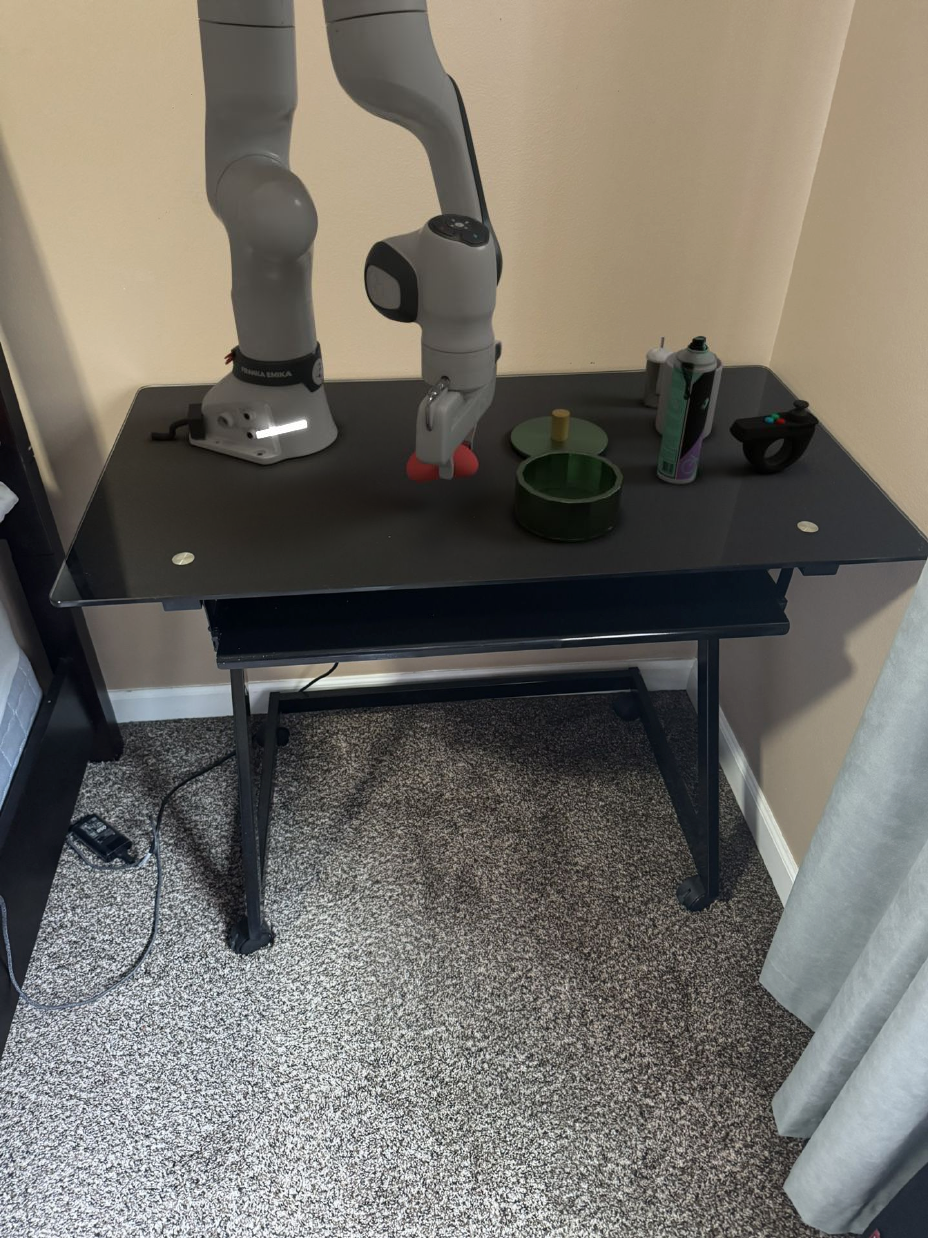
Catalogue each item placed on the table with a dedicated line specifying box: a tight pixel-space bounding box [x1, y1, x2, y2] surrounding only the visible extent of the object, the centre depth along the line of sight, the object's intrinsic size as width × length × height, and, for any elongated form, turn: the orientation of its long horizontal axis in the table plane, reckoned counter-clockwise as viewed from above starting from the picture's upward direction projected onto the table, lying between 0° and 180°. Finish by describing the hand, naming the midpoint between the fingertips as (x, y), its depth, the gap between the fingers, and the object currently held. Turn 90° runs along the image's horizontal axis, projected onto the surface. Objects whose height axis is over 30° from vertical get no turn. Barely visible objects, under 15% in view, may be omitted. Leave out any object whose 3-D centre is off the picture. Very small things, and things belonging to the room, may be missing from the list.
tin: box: [514, 450, 624, 543], centre depth 115 cm, size 14×14×6 cm
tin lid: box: [510, 408, 609, 459], centre depth 131 cm, size 15×15×5 cm
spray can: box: [656, 335, 718, 485], centre depth 119 cm, size 6×6×20 cm
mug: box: [655, 351, 724, 440], centre depth 132 cm, size 12×8×11 cm
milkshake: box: [643, 336, 675, 409], centre depth 141 cm, size 5×5×10 cm
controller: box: [729, 399, 820, 473], centre depth 124 cm, size 4×12×10 cm, turn 103°
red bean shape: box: [405, 444, 479, 483], centre depth 115 cm, size 5×9×6 cm, turn 93°
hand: (456, 464), depth 115 cm, fingers closed on red bean shape, 5 cm apart
